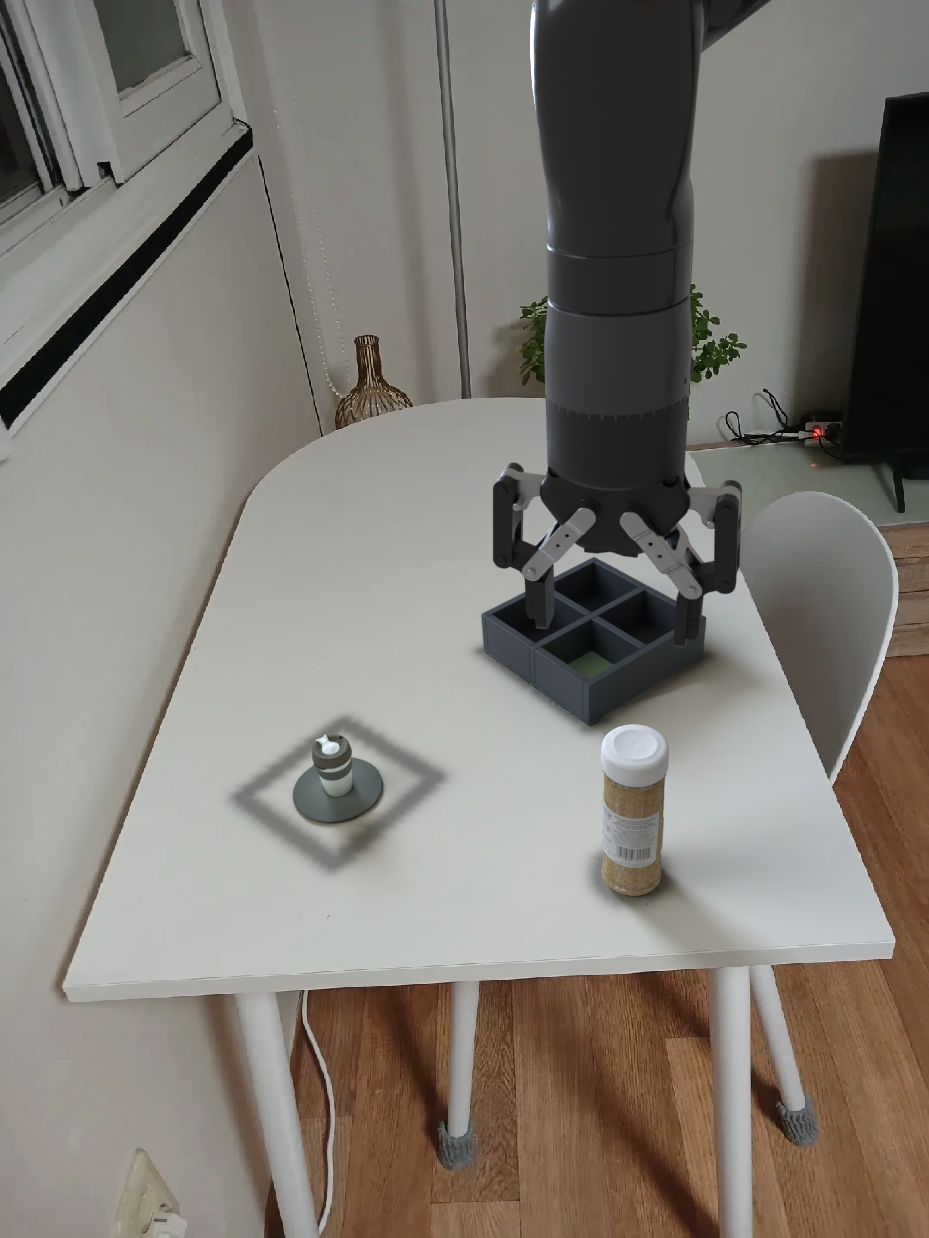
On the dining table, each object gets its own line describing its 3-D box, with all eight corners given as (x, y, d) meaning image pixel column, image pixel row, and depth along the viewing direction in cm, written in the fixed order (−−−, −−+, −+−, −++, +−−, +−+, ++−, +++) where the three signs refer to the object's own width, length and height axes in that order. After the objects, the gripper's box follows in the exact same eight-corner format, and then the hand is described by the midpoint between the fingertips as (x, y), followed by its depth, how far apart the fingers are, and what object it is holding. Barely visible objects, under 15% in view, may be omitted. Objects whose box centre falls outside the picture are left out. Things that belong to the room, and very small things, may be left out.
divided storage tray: (703, 655, 94) (706, 617, 91) (588, 725, 86) (589, 686, 84) (593, 592, 104) (594, 556, 101) (483, 650, 97) (480, 613, 94)
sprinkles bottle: (667, 860, 73) (676, 729, 65) (652, 906, 70) (660, 774, 62) (609, 844, 75) (612, 715, 67) (592, 888, 72) (592, 758, 64)
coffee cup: (335, 863, 75) (325, 820, 73) (241, 797, 82) (228, 755, 79) (436, 777, 82) (431, 734, 80) (342, 722, 89) (334, 681, 86)
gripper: (465, 401, 49) (485, 651, 59) (751, 418, 45) (723, 684, 54) (506, 350, 55) (518, 585, 64) (763, 361, 51) (736, 610, 60)
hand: (612, 630), depth 59 cm, fingers open, 8 cm apart
